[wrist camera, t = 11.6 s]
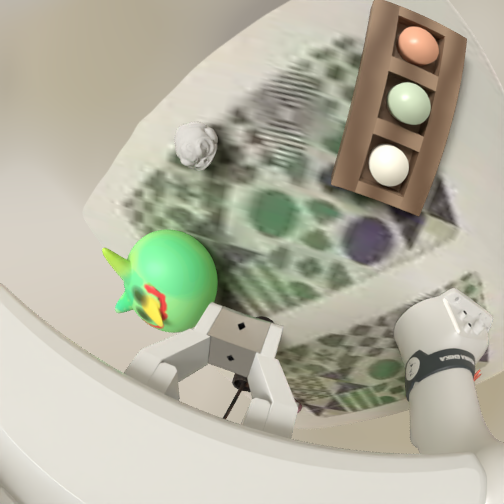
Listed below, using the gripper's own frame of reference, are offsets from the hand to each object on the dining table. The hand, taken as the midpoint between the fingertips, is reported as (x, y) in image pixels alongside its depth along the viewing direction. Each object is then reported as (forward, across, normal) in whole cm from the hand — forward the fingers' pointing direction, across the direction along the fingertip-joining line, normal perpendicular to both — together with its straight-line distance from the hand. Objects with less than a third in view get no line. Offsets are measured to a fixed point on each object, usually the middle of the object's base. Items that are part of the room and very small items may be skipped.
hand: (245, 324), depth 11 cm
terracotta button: (+27, -9, -20) cm, 35 cm away
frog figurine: (+29, +15, 0) cm, 33 cm away
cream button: (+27, -9, -4) cm, 29 cm away
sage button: (+26, -9, -12) cm, 30 cm away
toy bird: (+29, +17, +22) cm, 40 cm away
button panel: (+29, -9, -12) cm, 33 cm away
